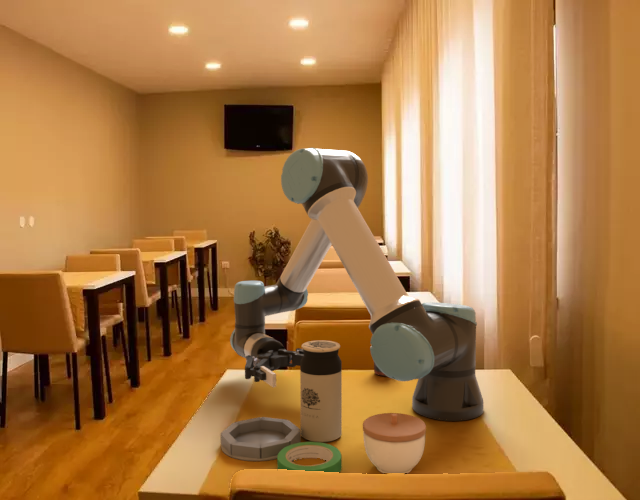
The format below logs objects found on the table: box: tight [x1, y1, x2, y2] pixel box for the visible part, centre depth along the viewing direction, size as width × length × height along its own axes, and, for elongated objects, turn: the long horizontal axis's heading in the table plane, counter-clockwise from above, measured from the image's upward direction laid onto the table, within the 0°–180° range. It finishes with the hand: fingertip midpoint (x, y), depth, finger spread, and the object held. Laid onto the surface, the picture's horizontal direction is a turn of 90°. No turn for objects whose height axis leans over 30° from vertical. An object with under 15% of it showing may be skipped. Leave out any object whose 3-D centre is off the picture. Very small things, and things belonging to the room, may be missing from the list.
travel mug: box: [299, 339, 343, 443], centre depth 119 cm, size 8×8×18 cm
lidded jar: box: [362, 412, 427, 474], centre depth 105 cm, size 11×11×9 cm
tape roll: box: [276, 441, 343, 473], centre depth 106 cm, size 11×11×3 cm
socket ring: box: [220, 416, 302, 462], centre depth 116 cm, size 15×15×2 cm
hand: (304, 375), depth 127 cm, fingers open, 13 cm apart
